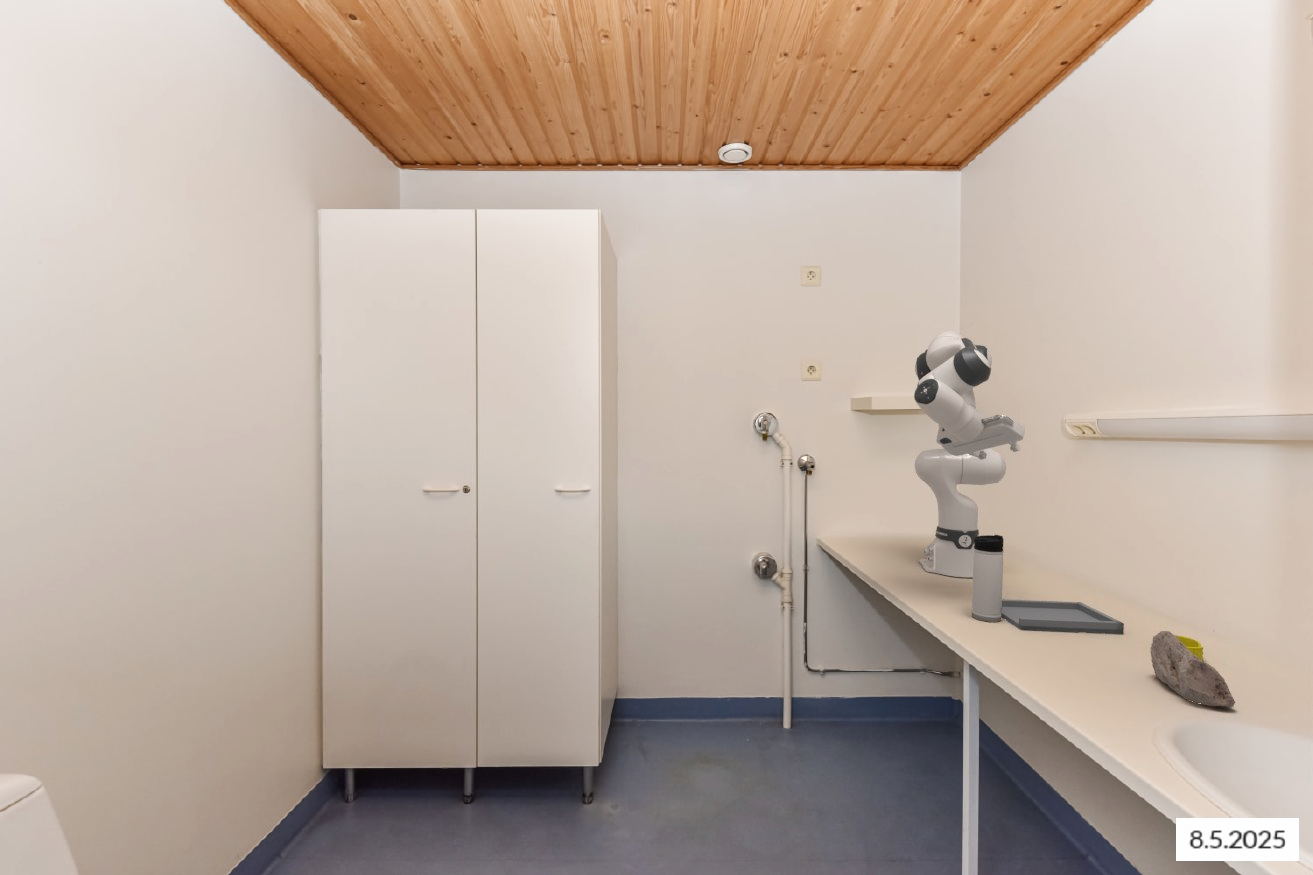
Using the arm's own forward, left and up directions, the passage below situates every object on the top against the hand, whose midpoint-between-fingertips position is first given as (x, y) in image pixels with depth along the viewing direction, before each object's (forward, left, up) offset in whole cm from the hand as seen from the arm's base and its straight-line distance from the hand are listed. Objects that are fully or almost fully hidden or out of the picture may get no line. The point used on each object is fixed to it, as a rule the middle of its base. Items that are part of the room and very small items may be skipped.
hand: (1000, 453), depth 161 cm
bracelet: (+36, +19, -40) cm, 57 cm away
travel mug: (+16, -10, -40) cm, 44 cm away
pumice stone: (+54, +8, -40) cm, 68 cm away
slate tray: (+16, +5, -39) cm, 43 cm away
